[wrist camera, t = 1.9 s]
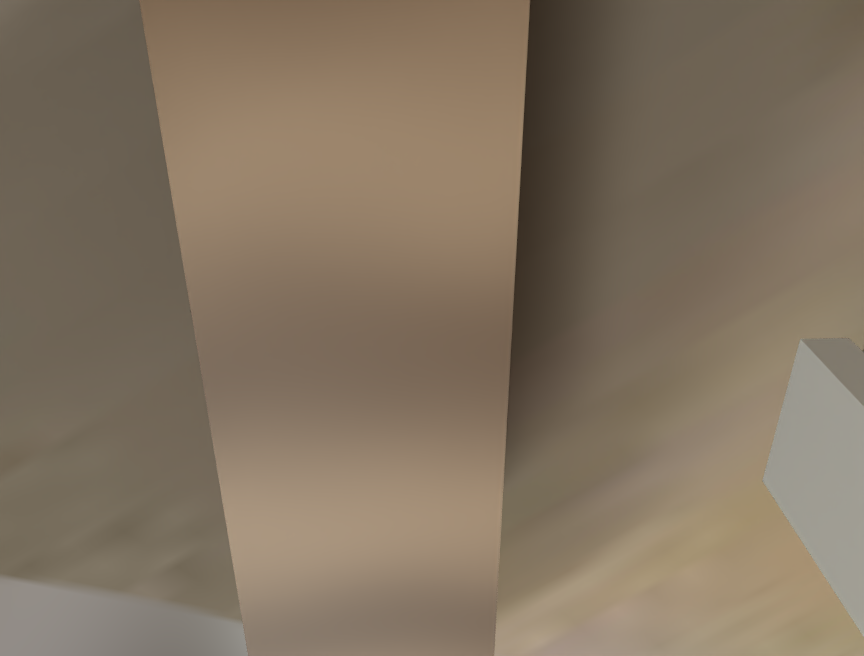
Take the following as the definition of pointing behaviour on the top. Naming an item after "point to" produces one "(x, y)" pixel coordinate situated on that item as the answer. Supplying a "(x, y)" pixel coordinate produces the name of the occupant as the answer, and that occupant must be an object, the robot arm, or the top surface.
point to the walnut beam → (351, 303)
